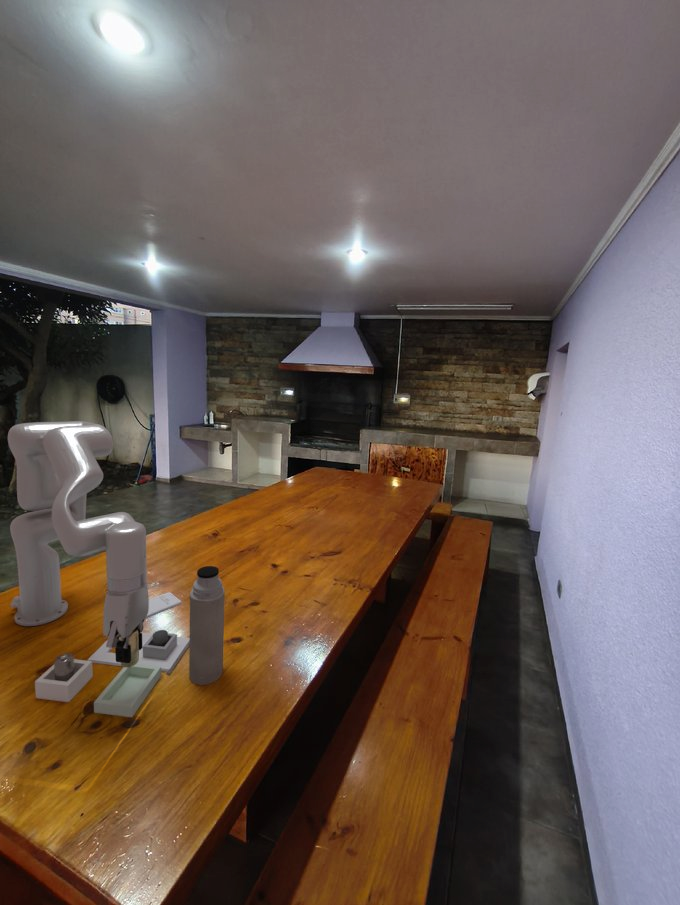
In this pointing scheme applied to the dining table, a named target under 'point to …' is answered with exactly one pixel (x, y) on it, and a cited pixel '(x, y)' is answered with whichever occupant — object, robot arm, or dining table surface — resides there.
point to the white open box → (63, 682)
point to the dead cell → (64, 667)
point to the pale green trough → (127, 690)
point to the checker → (149, 653)
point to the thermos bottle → (206, 627)
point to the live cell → (133, 648)
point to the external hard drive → (162, 604)
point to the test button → (160, 638)
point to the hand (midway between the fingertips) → (129, 654)
